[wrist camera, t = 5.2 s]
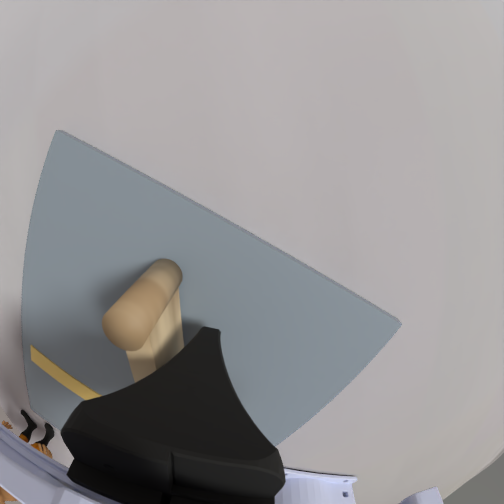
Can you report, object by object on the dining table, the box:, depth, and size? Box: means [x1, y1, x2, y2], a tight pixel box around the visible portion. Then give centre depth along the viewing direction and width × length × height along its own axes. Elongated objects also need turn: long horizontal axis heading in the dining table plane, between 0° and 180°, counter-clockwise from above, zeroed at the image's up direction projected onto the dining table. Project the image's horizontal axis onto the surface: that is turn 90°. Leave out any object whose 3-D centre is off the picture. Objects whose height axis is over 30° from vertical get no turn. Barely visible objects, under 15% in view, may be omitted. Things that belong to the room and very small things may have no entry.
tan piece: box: [102, 259, 184, 383], centre depth 11 cm, size 13×1×4 cm, turn 178°
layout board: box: [21, 130, 402, 446], centre depth 14 cm, size 19×26×1 cm
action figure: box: [0, 410, 54, 504], centre depth 11 cm, size 10×4×15 cm, turn 88°
